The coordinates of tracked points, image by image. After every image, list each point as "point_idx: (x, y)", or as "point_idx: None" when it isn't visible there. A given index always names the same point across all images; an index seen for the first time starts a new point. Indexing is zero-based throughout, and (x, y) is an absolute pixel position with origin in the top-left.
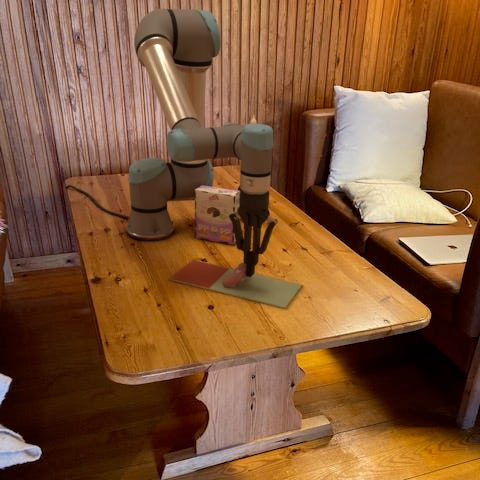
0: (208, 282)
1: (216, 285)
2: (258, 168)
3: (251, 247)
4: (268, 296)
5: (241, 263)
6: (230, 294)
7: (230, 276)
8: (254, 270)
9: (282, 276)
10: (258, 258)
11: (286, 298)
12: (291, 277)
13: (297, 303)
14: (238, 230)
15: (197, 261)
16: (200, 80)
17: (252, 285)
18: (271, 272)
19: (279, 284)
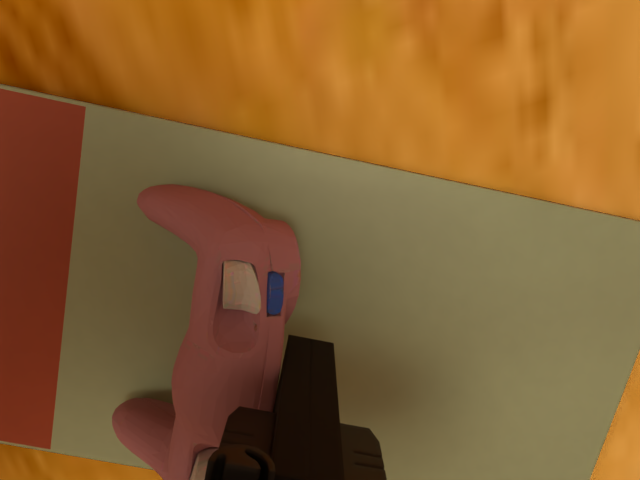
0: (15, 376)
1: (83, 401)
2: None
3: (269, 470)
4: (454, 449)
5: (198, 388)
6: None
7: (156, 471)
8: (333, 360)
9: (530, 103)
10: (384, 477)
11: (571, 443)
12: (603, 100)
13: (636, 458)
14: None
15: None
16: None
17: (325, 335)
18: (435, 53)
19: (517, 268)
